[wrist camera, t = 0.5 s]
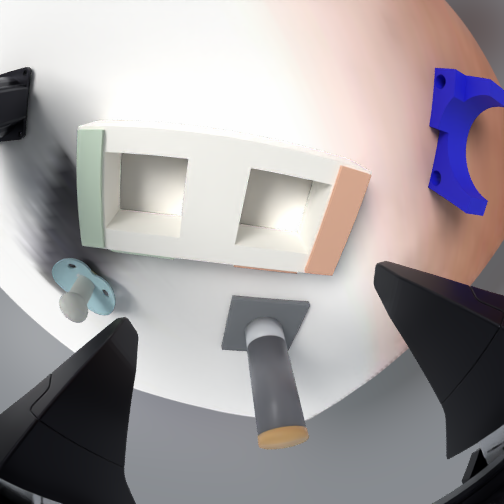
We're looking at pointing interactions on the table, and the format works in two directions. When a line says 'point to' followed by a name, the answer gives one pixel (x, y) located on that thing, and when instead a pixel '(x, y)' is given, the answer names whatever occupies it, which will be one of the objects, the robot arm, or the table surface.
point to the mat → (254, 308)
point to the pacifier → (82, 290)
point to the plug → (273, 386)
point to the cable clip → (458, 134)
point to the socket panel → (215, 197)
